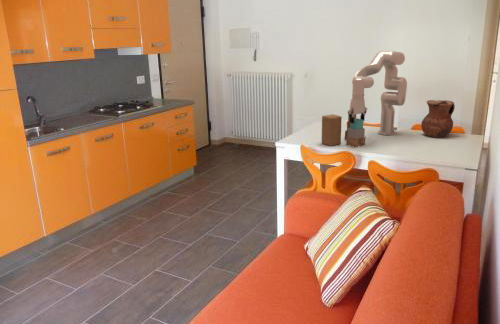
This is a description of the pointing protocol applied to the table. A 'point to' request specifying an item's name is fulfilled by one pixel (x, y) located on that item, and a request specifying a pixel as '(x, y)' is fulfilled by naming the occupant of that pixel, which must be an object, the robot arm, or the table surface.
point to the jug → (438, 118)
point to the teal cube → (357, 124)
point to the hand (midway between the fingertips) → (357, 121)
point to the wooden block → (331, 129)
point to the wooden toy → (348, 125)
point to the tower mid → (355, 133)
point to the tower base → (355, 141)
